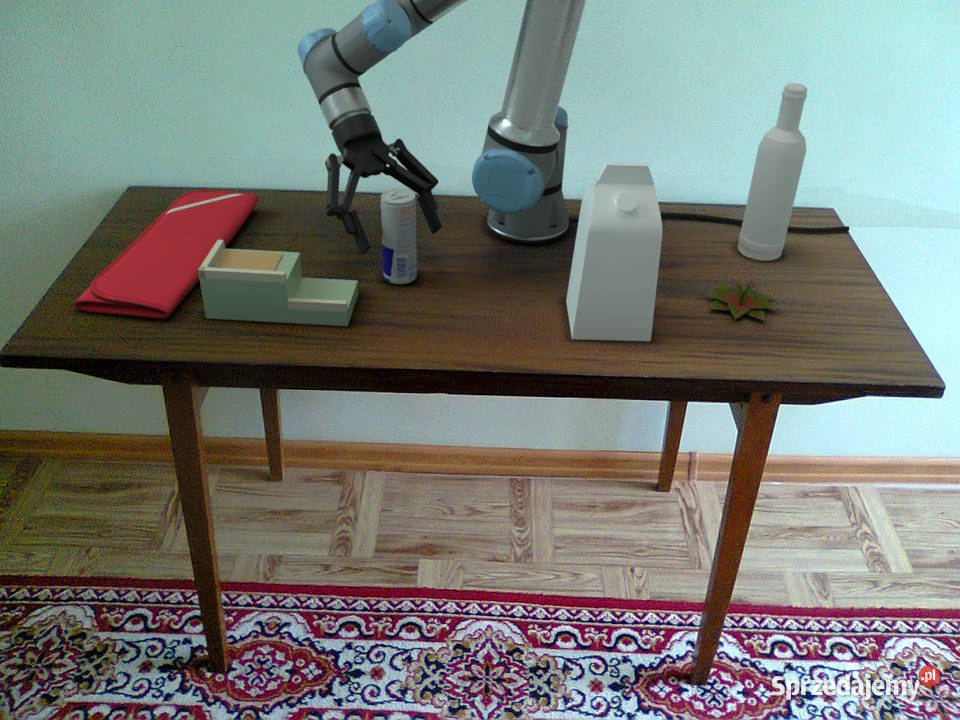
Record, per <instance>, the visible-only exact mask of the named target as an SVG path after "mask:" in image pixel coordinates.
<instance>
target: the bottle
mask: <svg viewBox="0 0 960 720" xmlns="http://www.w3.org/2000/svg"><path fill="white" fill-rule="evenodd" d="M807 92H808V87H807V86H806V85H804V84H803V83H796V82H790V83H786V84H785V85H784V88H783V91H782V93H781V101H780V106H779V110H778V114H777V119H776V123H775V126H773V127H772V128H770V129H769V130H767V131H766V132H765V133H764V135H763V136H762V138H761V141H760V142H759V144H758V147H757V153H756V157H755V162H754V166H753V171H752V176H751V180H750V185H749V190H748V196H747V201H746V205H745V210H744V213H743V219H742V220H743V223H742V225H741V227H740V228H741V229H740V232H739V235H738V239H737V240H738V243H737V250H738V252H740V254H741V255H742V256H744V257H747V258H748V259H751V260H754V261H761V262H770V261H775V260H777V259H779V258H781V256H782V254H783V250H784V247H785V244H786V237H787V233H788V231H787V229H788V226H790V220H791V216H792V212H793V208H794V203H795V199H796V195H797V191H798V187H799V183H800V179H801V175H802V171H803V166H804V162H805V157H806V154H807V143H806V142H807V141H806V137H805V136H804V134H803V133H802V132H801V130H800V129H799V127H800V122H801V118H802V115H803V110H804V106H805V101H806V100H807V97H808V93H807Z"/></svg>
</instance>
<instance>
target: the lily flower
mask: <svg viewBox="0 0 960 720" xmlns="http://www.w3.org/2000/svg"><path fill="white" fill-rule="evenodd" d="M738 279H739V281H740V283H742V279H741V277H740V276H738ZM730 280H731V281H732V282H734V283H733V286H731V285H725V284H720V283H717V290H713V291H712V292H710V293H709V294H708V293H707V294H705V296H706V297H707V296H708V297H711V298H715V299H716V300H714V301H712V303H711V304H710V307H708V309H707V310H717V311H718V310H721V311H730V313H731V315H732V316H733V318H734V319H733V320H735V321H736V320H737V319H738V318H740V317H741V316H743V315H747V316H749V317H753V318H756V319H758V320H760V321H763V322H765V321H766V320H765V319H766V318H765V317H766V313H765V311H764V310H763V309H768V310H774V311H777V309H776V308H775V307H774V306H773V305H772V303H771V302H770V301H769V300H770V299H771V297H772V296H773V294H767V293H763V292H759V290H758V289H757V290H756V289H755V287H756V282H754V283H753V281H754V279H751V280H750V282H749V283H748V284H747V285H743V286H742V285H739V284H738V282H737V281H735V279H733V278H731V279H730ZM745 283H746V281H745ZM750 284H751V285H750ZM734 286H735V287H734ZM754 289H755V290H754Z"/></svg>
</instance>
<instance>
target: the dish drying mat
mask: <svg viewBox="0 0 960 720" xmlns="http://www.w3.org/2000/svg"><path fill="white" fill-rule="evenodd" d="M258 203H259V196H258V195H256V194H253V193H250V192H239V191H231V190H230V191H229V190H218V189H217V190H216V189H199V190H194V191H193V190H192V191H185V192H184V193H183V194H182V195H180V196H179V197H177V198H176V199H175V200H174V201H173V202H171V204H170V205H169V206H168V207H167V208H166V209H165V210H164V211H163V212H162V213H161V214H160V215H159V216H158V217H157V218H156V219H155V220H154V221H153V222H151V224H150V225H149V226H148V227H146V229H144V231H143V232H141V234H140V235H138V237H136V239H134V241H133V242H131V244H129V245H128V246H127V247H126V248H125V249H124V250H123V251H122V252H121V253H120V254H119V255H118V256H117V257H116V258H114V259H113V260H112V262H111V263H109V265H108V266H106V267H105V268H104V269H103V270H102V271H101V272H99V273H98V274H97V275H96V276H95V277H94V278H93V279H92V280H91V283H90V286H89V287H88V288H87V289H86V290H85V291H83V293H82V294H81V295H79V297H78V298H77V299H76V300H75V301H74V307H75V308H76V309H77V310H79V311H80V312H85V313H94V314H95V313H96V314H105V315H118V316H119V315H120V316H130V317H138V318H148V319H156V320H166V319H168V318H169V317H170V316H171V314H172V313H173V312H174V311H175V310H176V308H177V307H178V306H179V305H180V303H181V302H183V300H184V299H185V297H186V296H187V295H188V294H189V293H190V292H191V291H192V290H193V288H194V287H195V286H196V285H197V284H198V282H200V278H199V272H198V269H199V268H200V266H201V265H202V263H203V262H204V260H205V259H206V257H207V255H208V254H209V252H210V251H211V249H212V248H213V246H214V245H215V243H216V242H217V240H224V244H225V248H226V247H227V246H228V245H229V244H230V243H231V241H232V240H233V238H235V236H236V235H237V233H238V232H239V231H240V229H241V228H242V227H243V225H244V224H245V222H246V221H247V219H248V218H249V216H250V215H251V214H252V213H253V211H254V209H255V208H256V206H257V204H258Z"/></svg>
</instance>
